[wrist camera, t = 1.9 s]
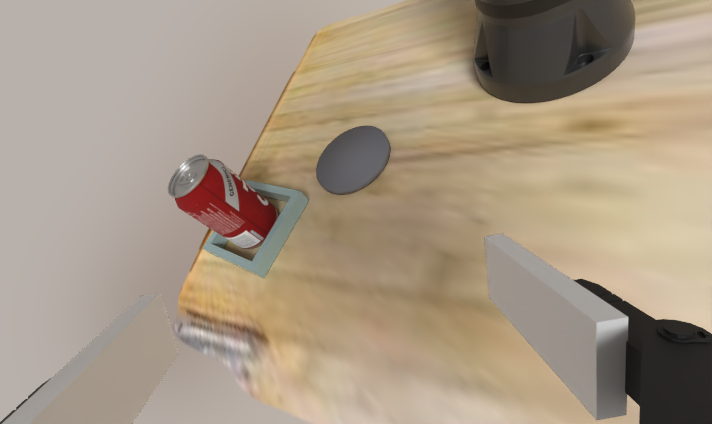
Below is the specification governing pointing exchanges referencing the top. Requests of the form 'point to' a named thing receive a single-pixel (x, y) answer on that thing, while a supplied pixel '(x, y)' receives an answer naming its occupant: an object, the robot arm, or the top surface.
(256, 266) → the holder
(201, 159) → the soda can
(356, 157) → the disc
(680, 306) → the top surface
